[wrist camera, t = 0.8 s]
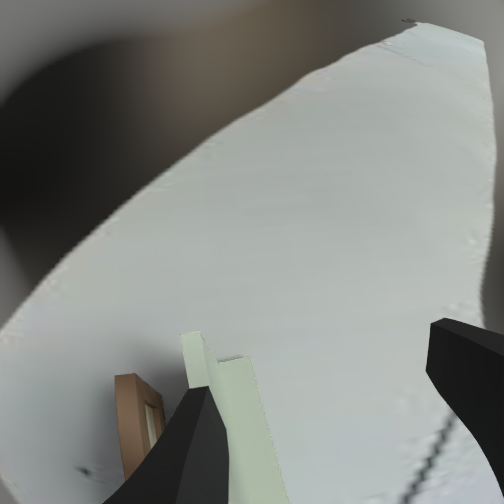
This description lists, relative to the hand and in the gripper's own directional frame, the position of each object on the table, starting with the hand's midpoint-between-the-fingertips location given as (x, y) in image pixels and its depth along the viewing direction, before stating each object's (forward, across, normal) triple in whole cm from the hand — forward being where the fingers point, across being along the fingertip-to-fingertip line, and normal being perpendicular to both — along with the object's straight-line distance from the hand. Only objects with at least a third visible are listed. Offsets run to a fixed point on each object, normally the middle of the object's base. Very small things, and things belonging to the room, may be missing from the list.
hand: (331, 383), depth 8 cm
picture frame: (+6, +12, +14) cm, 19 cm away
